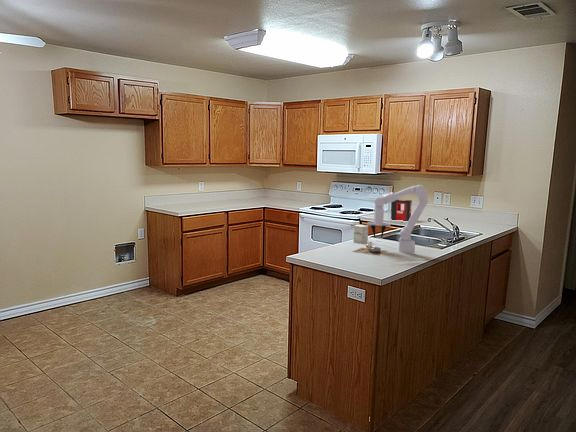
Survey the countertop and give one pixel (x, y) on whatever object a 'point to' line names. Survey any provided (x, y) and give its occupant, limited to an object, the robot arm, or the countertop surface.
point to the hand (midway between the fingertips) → (378, 237)
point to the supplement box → (360, 234)
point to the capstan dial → (372, 248)
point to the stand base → (369, 252)
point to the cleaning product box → (401, 210)
